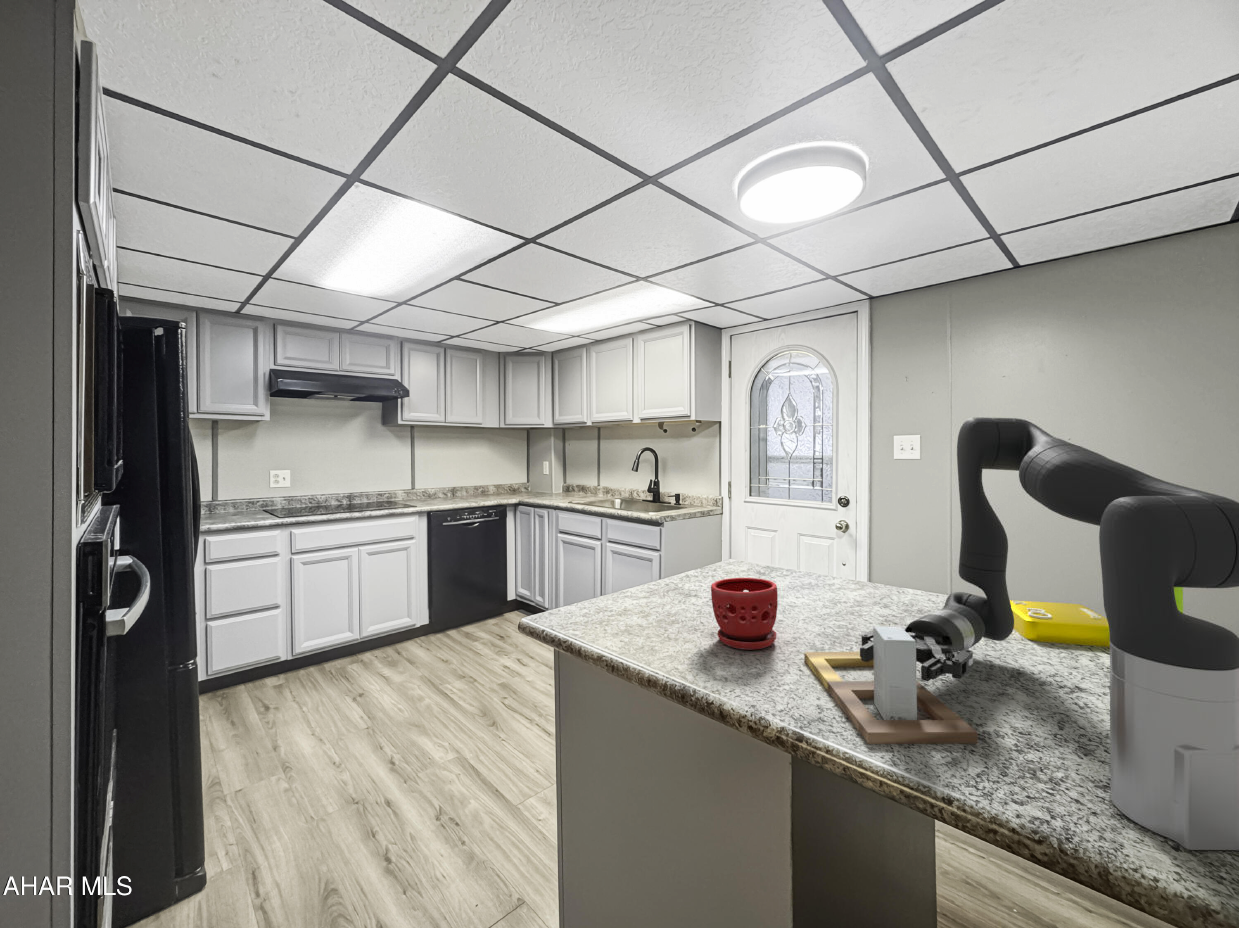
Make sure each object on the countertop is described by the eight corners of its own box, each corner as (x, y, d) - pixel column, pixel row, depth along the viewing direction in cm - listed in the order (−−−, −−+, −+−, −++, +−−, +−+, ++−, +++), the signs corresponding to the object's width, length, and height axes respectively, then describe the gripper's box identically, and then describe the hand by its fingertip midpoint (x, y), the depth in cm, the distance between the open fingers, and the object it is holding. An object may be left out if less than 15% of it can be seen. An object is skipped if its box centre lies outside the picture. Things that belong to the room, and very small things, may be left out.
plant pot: (777, 632, 109) (776, 576, 109) (779, 657, 97) (778, 593, 96) (715, 628, 113) (713, 574, 113) (709, 651, 100) (707, 590, 100)
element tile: (1124, 650, 96) (1124, 624, 96) (1027, 642, 101) (1027, 618, 101) (1082, 623, 110) (1082, 601, 110) (999, 618, 115) (999, 597, 115)
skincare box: (918, 726, 72) (917, 641, 71) (885, 724, 72) (883, 640, 72) (903, 705, 78) (902, 626, 77) (873, 703, 78) (871, 625, 78)
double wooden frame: (977, 743, 67) (977, 731, 67) (868, 743, 68) (867, 732, 68) (882, 659, 94) (882, 651, 94) (804, 660, 95) (804, 652, 95)
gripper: (894, 604, 90) (844, 626, 80) (990, 625, 78) (946, 653, 69) (895, 647, 90) (845, 673, 80) (991, 674, 79) (947, 708, 69)
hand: (892, 664), depth 75 cm, fingers open, 8 cm apart
